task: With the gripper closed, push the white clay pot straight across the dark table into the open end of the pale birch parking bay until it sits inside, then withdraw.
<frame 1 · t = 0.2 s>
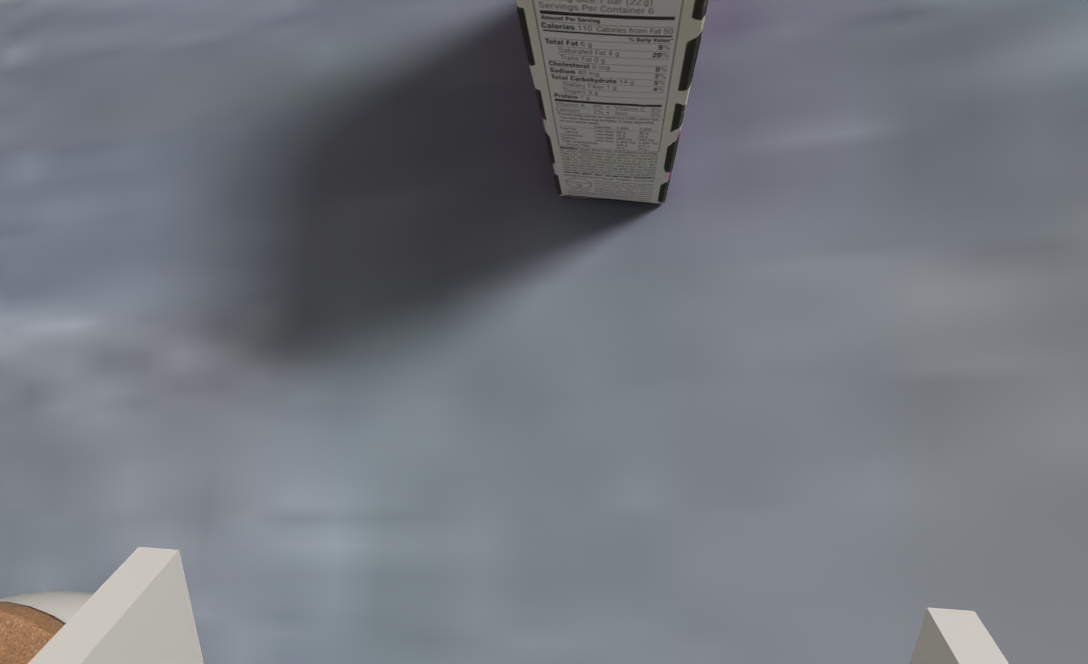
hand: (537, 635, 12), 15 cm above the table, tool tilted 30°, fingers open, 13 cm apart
candy bar box: (617, 88, 31), on the table
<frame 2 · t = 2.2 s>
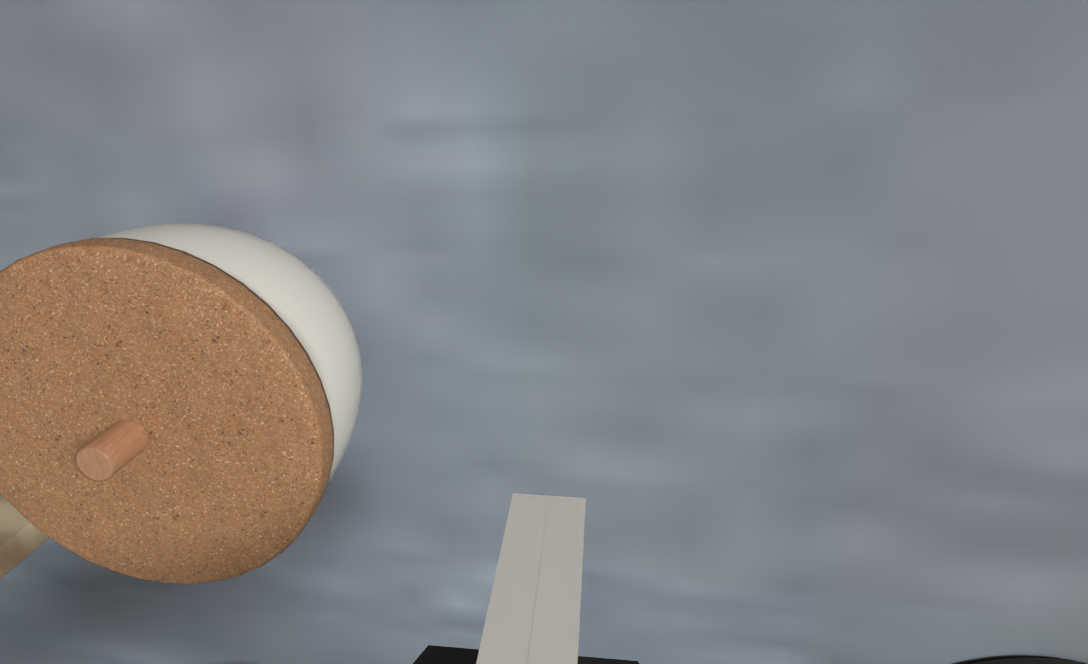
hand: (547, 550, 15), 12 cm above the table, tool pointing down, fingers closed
lidded jar: (266, 331, 27), on the table
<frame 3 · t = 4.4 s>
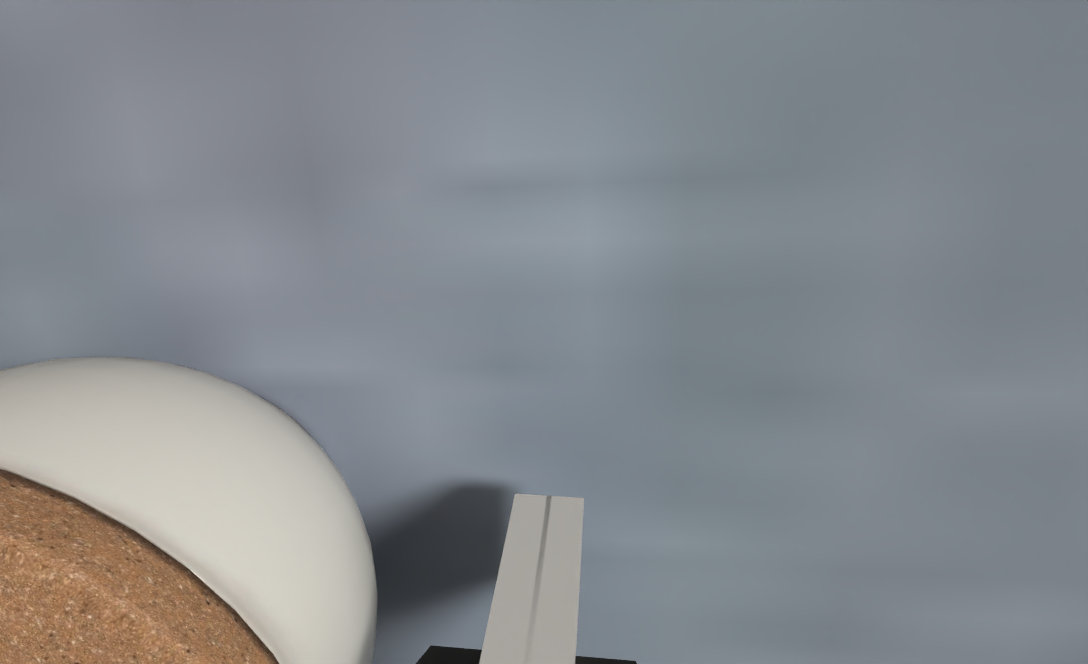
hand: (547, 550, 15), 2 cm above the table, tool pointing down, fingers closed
lidded jar: (224, 487, 17), on the table, touching gripper
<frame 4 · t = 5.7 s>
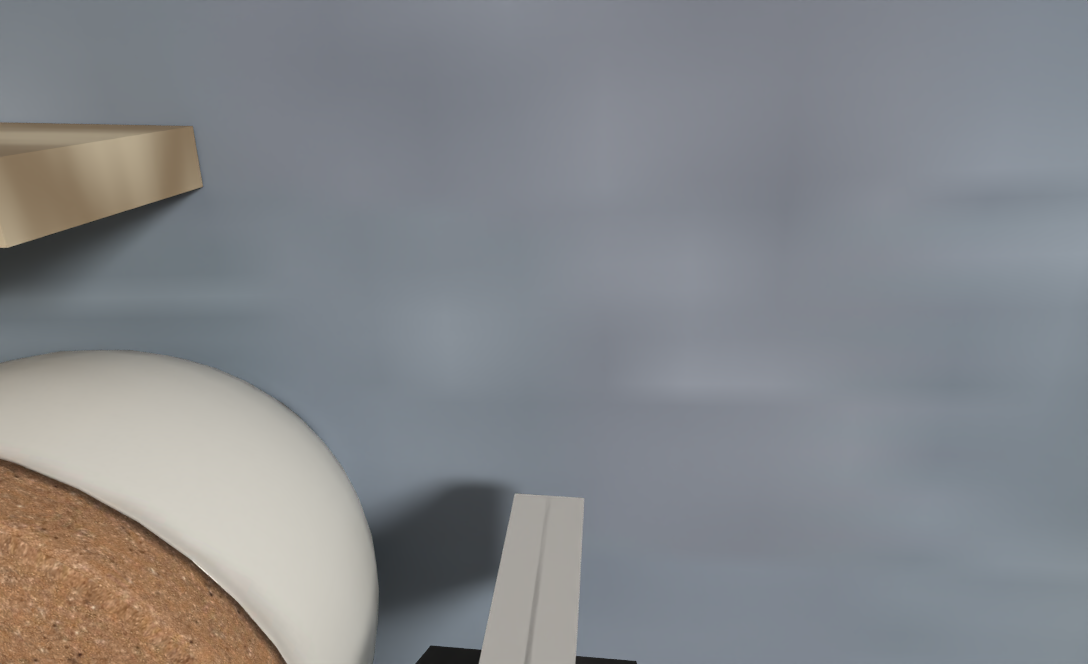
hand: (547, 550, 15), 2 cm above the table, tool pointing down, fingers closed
lidded jar: (226, 481, 17), on the table, touching gripper
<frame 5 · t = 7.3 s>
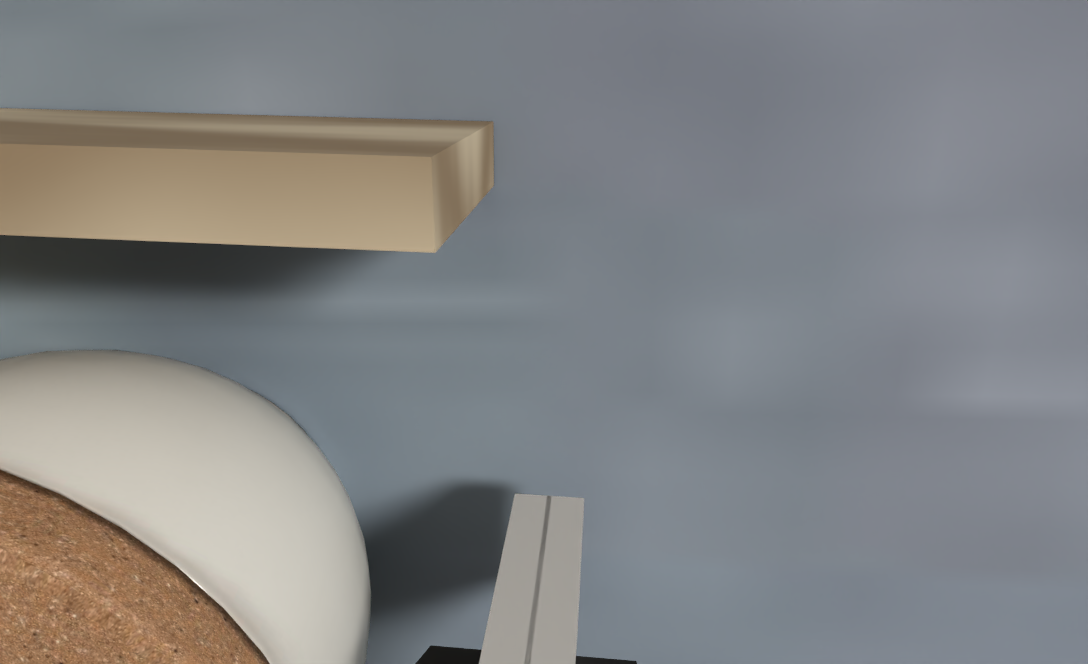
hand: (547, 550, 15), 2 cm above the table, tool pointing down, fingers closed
lidded jar: (217, 482, 17), on the table, touching gripper
bay: (198, 486, 17), on the table
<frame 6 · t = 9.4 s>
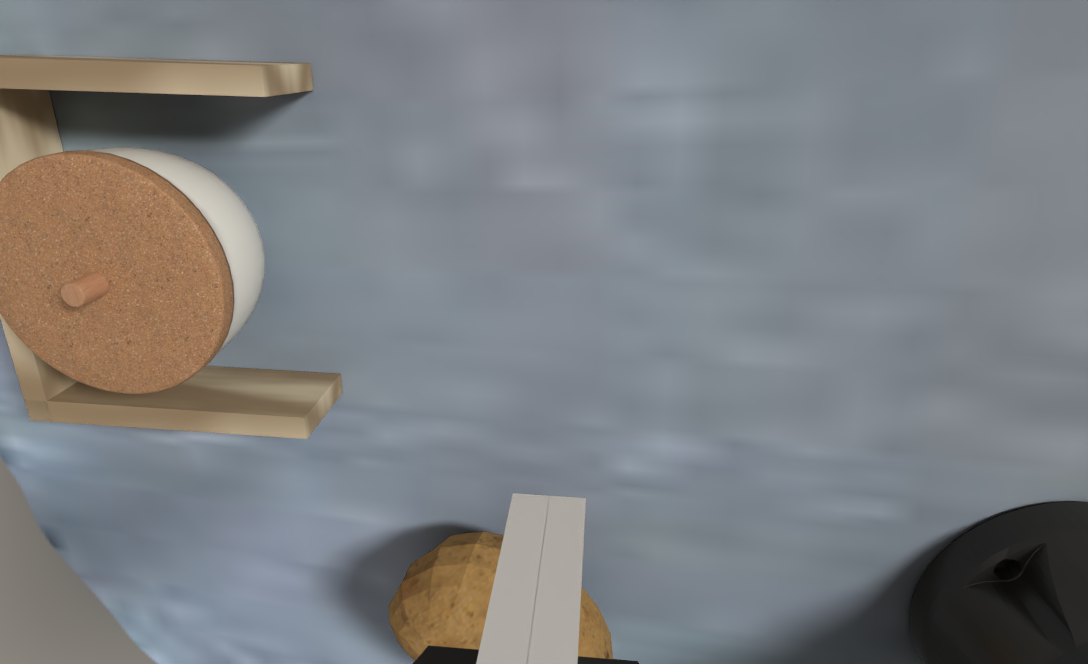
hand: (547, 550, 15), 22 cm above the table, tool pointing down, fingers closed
lidded jar: (201, 236, 37), on the table
bay: (192, 237, 36), on the table
potato: (519, 575, 43), on the table
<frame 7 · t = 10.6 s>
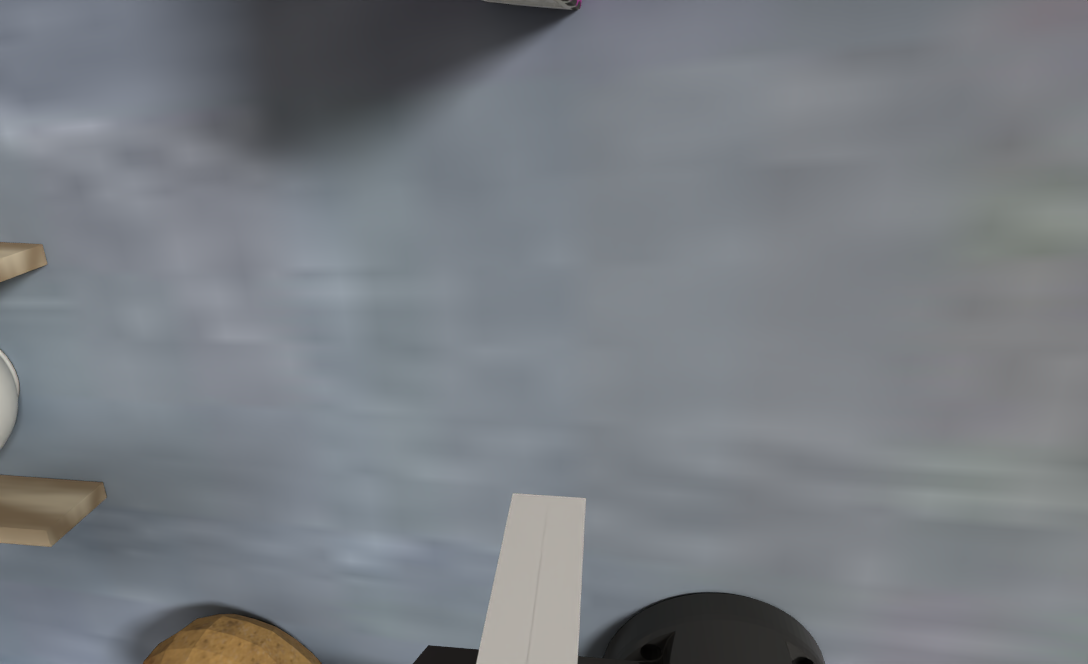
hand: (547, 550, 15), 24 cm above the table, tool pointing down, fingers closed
potato: (278, 646, 50), on the table
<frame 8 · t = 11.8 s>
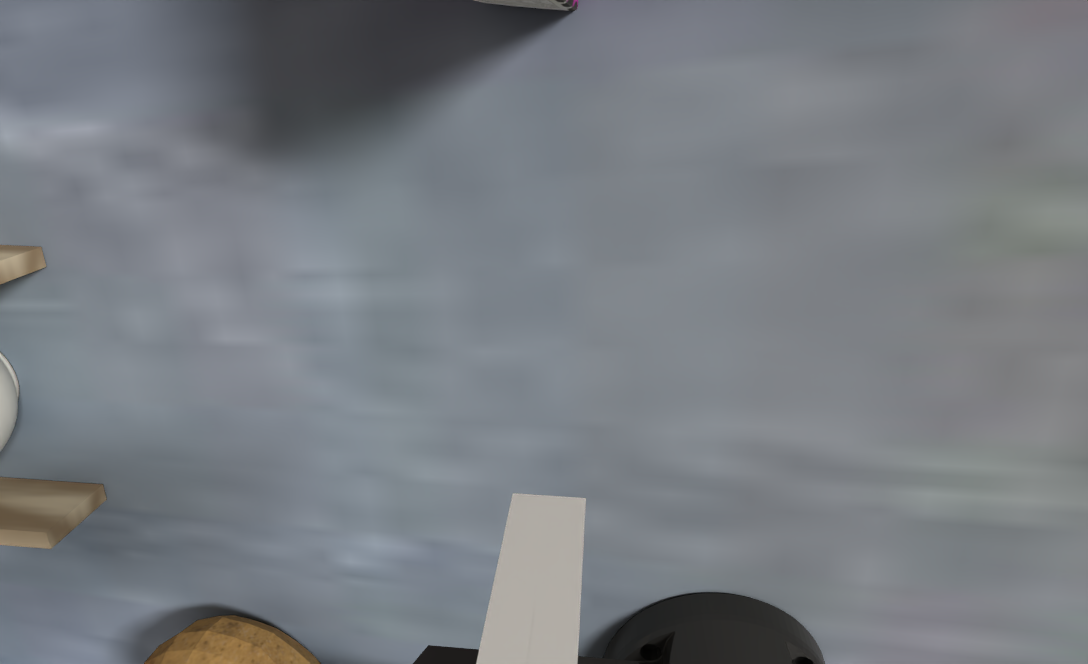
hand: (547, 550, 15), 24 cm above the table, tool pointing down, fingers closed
potato: (278, 647, 50), on the table
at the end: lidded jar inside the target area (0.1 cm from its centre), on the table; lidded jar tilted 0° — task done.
